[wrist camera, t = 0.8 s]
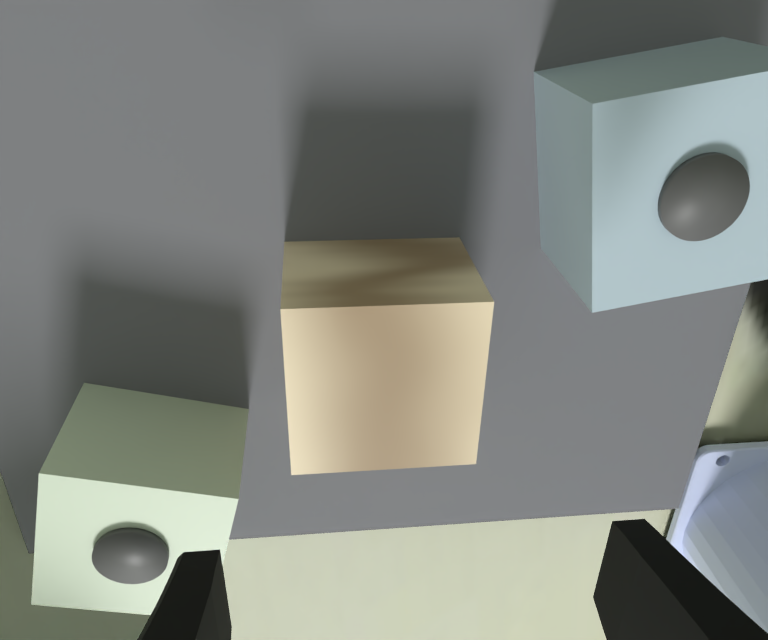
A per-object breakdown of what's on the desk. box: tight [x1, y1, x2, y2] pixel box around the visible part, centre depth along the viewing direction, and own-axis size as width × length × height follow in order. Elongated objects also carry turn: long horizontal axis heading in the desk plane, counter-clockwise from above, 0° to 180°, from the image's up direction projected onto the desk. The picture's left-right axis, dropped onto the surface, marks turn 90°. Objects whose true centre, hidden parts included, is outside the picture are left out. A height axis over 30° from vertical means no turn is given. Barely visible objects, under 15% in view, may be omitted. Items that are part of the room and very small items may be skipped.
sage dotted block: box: [31, 383, 249, 615], centre depth 20 cm, size 5×5×4 cm
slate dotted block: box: [534, 37, 768, 313], centre depth 17 cm, size 5×5×4 cm
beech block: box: [280, 237, 494, 475], centre depth 18 cm, size 5×5×4 cm
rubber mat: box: [0, 0, 768, 553], centre depth 20 cm, size 24×18×1 cm
